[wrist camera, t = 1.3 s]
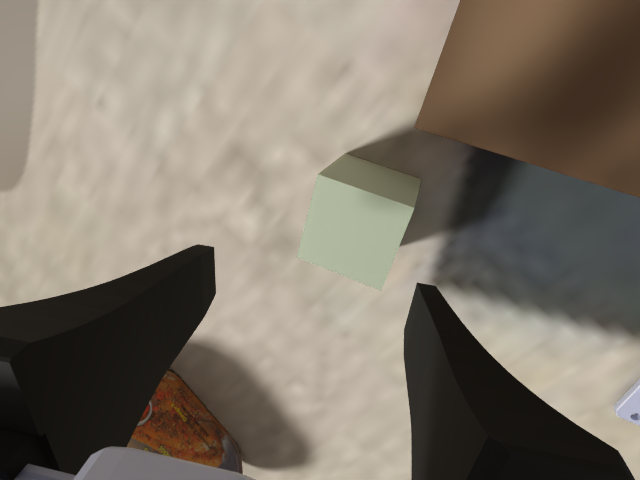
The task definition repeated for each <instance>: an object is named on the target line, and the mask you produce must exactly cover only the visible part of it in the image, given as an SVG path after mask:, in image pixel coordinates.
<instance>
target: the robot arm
mask: <svg viewBox="0 0 640 480" xmlns="http://www.w3.org/2000/svg"><path fill="white" fill-rule="evenodd" d="M215 294H216V285H215V260H214V247H210V246H204V245H195V246H192V247H190V248H187V249H185V250H183V251H180V252H178V253H176V254H174V255H172V256H169V257H167V258H165V259H163V260H161V261H158V262H156V263H154V264H152V265H150V266H147V267H145V268H142V269H140V270H137V271H135V272H133V273H130V274H128V275H125V276H123V277H120V278H117V279H115V280H112V281H109V282H106V283H103V284H100V285H97V286H94V287H90V288H87V289H84V290H80V291H76V292H72V293H68V294H64V295H60V296H56V297H52V298H48V299H43V300H38V301H33V302H28V303H22V304H17V305H11V306H5V307H0V480H255V479H253V478H250V477H248V476H245V475H243V474H240V473H237V472H233V471H229V470H224V469H220V468H216V467H212V466H207V465H203V464H199V463H195V462H190V461H186V460H182V459H178V458H173V457H169V456H165V455H161V454H156V453H152V452H148V451H143V450H139V449H135V448H129V447H127V445H128V443H129V441H130V439H131V437H132V435H133V433H134V431H135V429H136V427H137V425H138V423H139V421H140V419H141V417H142V415H143V413H144V411H145V409H146V407H147V406H148V404H149V402H150V400H151V398H152V396H153V394H154V393H155V391H156V389H157V387H158V385H159V384H160V382H161V380H162V378H163V376H164V375H165V373H166V372H167V370H168V369H169V367H170V365H171V364H172V363H173V361H174V360H175V358H176V357H177V355H178V354H179V353H180V351H181V350H182V348H183V347H184V345H185V344H186V343H187V341H188V340H189V338H190V337H191V335H192V334H193V333H194V331H195V330H196V328H197V327H198V325H199V324H200V322H201V321H202V319H203V318H204V316H205V314H206V313H207V311H208V309H209V307H210V305H211V303H212V301H213V299H214V296H215ZM404 362H405V371H406V380H407V389H408V398H409V407H410V415H411V432H412V480H635V479H634V477H633V475H632V473H631V472H630V470H629V468H628V467H627V465H626V463H625V461H624V460H623V458H622V457H621V455H620V453H619V452H618V450H616V449H614V448H613V447H611V446H610V445H608V444H606V443H605V442H603V441H602V440H600V439H599V438H597V437H595V436H594V435H592V434H591V433H589V432H587V431H586V430H584V429H583V428H581V427H579V426H578V425H576V424H575V423H573V422H572V421H570V420H569V419H568V418H566V417H565V416H563V415H562V414H561V413H559V412H558V411H556V410H555V409H554V408H552V407H551V406H549V405H548V404H547V403H545V402H544V401H543V400H542V399H540V398H539V397H538V396H536V395H535V394H534V393H533V392H531V391H530V390H529V389H528V388H527V387H525V386H524V385H523V384H522V383H520V382H519V381H518V380H517V379H516V378H515V377H513V376H512V375H511V374H510V373H509V372H508V371H507V370H506V369H505V368H504V367H503V366H502V365H501V364H500V363H498V362H497V361H496V360H495V359H494V358H493V357H492V356H491V355H490V354H489V353H488V352H487V351H486V350H485V348H484V347H483V346H482V345H481V344H480V343H479V342H478V341H477V339H476V338H475V337H474V336H473V335H472V334H471V333H470V331H469V330H468V329H467V328H466V327H465V325H464V324H463V323H462V322H461V320H460V319H459V318H458V316H457V315H456V314H455V312H454V311H453V310H452V308H451V307H450V306H449V304H448V303H447V301H446V300H445V299H444V297H443V296H442V294H441V293H440V292H439V290H438V289H437V287H436V286H433V285H427V284H421V283H417V285H416V289H415V292H414V296H413V300H412V303H411V307H410V310H409V314H408V318H407V321H406V325H405V329H404ZM614 411H615V413H616V414H617V416H619V417H620V418H622V419H625V420H627V421H630V422H632V423H635V424H637V425H640V379H639V380H638V381H637V382H636V383H635V384H634V385H633V386H632V387H631V388H630V389H629V390H628V391H627V392H626V393H625V394H624V395H623V397H622V398H621V399H620V400H619V401H618V402H617V403H616V404H615V405H614ZM634 413H638V414H635V415H632V414H634Z"/></svg>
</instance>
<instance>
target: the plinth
mask: <svg viewBox="0 0 640 480" xmlns="http://www.w3.org/2000/svg"><path fill="white" fill-rule="evenodd" d="M414 128H417V129H421V130H424V131H427V132H430V133H433V134H437V135H440V136H443V137H446V138H449V139H453V140H456V141H459V142H462V143H466V144H469V145H472V146H475V147H478V148H482V149H485V150H488V151H491V152H495V153H498V154H501V155H504V156H507V157H511V158H514V159H517V160H520V161H524V162H527V163H530V164H533V165H536V166H540V167H543V168H546V169H549V170H552V171H556V172H559V173H562V174H565V175H569V176H572V177H575V178H578V179H581V180H585V181H588V182H591V183H594V184H598V185H601V186H604V187H607V188H610V189H614V190H617V191H620V192H623V193H627V194H630V195H633V196H636V197H639V198H640V0H460V3H459V6H458V8H457V11H456V14H455V17H454V19H453V22H452V25H451V28H450V30H449V33H448V36H447V39H446V41H445V44H444V47H443V50H442V53H441V55H440V58H439V61H438V64H437V66H436V69H435V72H434V75H433V77H432V80H431V83H430V86H429V88H428V91H427V94H426V97H425V100H424V102H423V105H422V108H421V111H420V113H419V116H418V119H417V122H416V124H415V127H414Z"/></svg>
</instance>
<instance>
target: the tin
mask: <svg viewBox="0 0 640 480" xmlns="http://www.w3.org/2000/svg"><path fill="white" fill-rule="evenodd" d="M127 447H129V448H135V449H139V450H143V451H148V452H152V453H156V454H161V455H165V456H169V457H173V458H178V459H182V460H186V461H190V462H195V463H199V464H203V465H207V466H212V467H216V468H220V469H224V470H229V471H233V472H237V473H240V474H242V473H243V471H242V460H241V456H240V452H239V449H238V447H237V444H236V442H235V440H234V439H233V437H232V436H231V435H230V434H229V433H228V432H227V430H226V429H225V428H224V427H223V426H222V425H221V424H220V423H219V421H218V420H217V419H216V418H215V417H214V416H213V415H212V414H211V413H210V411H209V410H208V409H207V408H206V407H205V406H204V405H203V404H202V402H201V401H200V400H199V399H198V398H197V397H196V396H195V394H194V393H193V392H192V391H191V390H190V389H189V388H188V386H187V385H186V384H185V383H184V382H183V381H182V380H181V379H180V378H179V377H178V376H177V375H176V374H174V373H173V372H171V371H169V370H167V372H166V373H165V375H164V376H163V378H162V380H161V382H160V384H159V385H158V387H157V389H156V391H155V393H154V394H153V396H152V398H151V400H150V402H149V404H148V406H147V407H146V409H145V411H144V413H143V415H142V417H141V419H140V421H139V423H138V425H137V427H136V429H135V431H134V433H133V435H132V437H131V439H130V441H129V443H128V445H127Z"/></svg>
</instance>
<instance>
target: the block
mask: <svg viewBox="0 0 640 480" xmlns="http://www.w3.org/2000/svg"><path fill="white" fill-rule="evenodd" d="M421 180H422V179H420V178H417V177H414V176H411V175H408V174H405V173H402V172H399V171H396V170H393V169H390V168H387V167H384V166H381V165H378V164H375V163H372V162H369V161H366V160H363V159H360V158H357V157H354V156H351V155H348V154H344V155H343V156H341V157H340V158H339V159H337V160H336V161H335V162H333V163H332V164H331V165H329V166H328V167H327V168H326V169H324V170H323V171H322V172H320V173H319V174H318V176H317V180H316V184H315V188H314V192H313V195H312V199H311V203H310V207H309V211H308V215H307V219H306V223H305V227H304V231H303V235H302V238H301V242H300V246H299V250H298V254H297V258H299V259H302V260H304V261H307V262H309V263H312V264H314V265H317V266H319V267H322V268H325V269H327V270H330V271H332V272H335V273H337V274H340V275H342V276H345V277H348V278H350V279H353V280H355V281H358V282H360V283H363V284H365V285H368V286H370V287H373V288H376V289H378V290H382V287H383V285H384V282H385V280H386V277H387V275H388V272H389V270H390V268H391V265H392V263H393V260H394V258H395V255H396V253H397V250H398V248H399V245H400V243H401V240H402V238H403V235H404V233H405V230H406V228H407V225H408V223H409V221H410V218H411V216H412V213H413V211H414V208H415V204H416V200H417V196H418V192H419V188H420V184H421Z"/></svg>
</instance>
